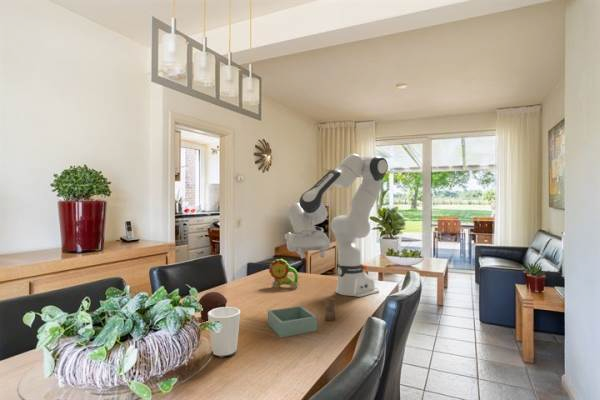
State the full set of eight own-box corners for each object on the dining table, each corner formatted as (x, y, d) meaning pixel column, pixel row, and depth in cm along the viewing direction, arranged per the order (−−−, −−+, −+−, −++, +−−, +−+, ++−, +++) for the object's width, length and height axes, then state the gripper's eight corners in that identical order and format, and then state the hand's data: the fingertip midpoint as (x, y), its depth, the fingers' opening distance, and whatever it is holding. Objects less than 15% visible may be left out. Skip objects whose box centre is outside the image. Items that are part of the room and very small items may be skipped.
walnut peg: (332, 316, 133) (332, 297, 133) (337, 320, 130) (337, 299, 130) (323, 318, 132) (323, 298, 132) (328, 321, 128) (328, 301, 128)
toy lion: (299, 286, 179) (299, 258, 179) (296, 289, 174) (296, 260, 174) (271, 285, 183) (271, 257, 183) (268, 287, 177) (268, 259, 177)
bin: (300, 318, 132) (300, 305, 132) (317, 330, 119) (317, 316, 119) (267, 323, 126) (267, 310, 126) (281, 337, 113) (280, 323, 113)
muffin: (193, 316, 133) (193, 292, 133) (219, 311, 140) (219, 287, 140) (204, 325, 124) (204, 299, 124) (232, 319, 131) (231, 294, 131)
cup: (224, 363, 95) (224, 319, 95) (200, 355, 101) (200, 313, 101) (247, 350, 104) (247, 310, 104) (224, 343, 109) (224, 304, 109)
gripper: (285, 228, 145) (293, 253, 136) (325, 228, 154) (336, 252, 145) (281, 237, 149) (289, 262, 140) (321, 236, 158) (330, 260, 149)
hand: (313, 257), depth 143 cm, fingers open, 8 cm apart
